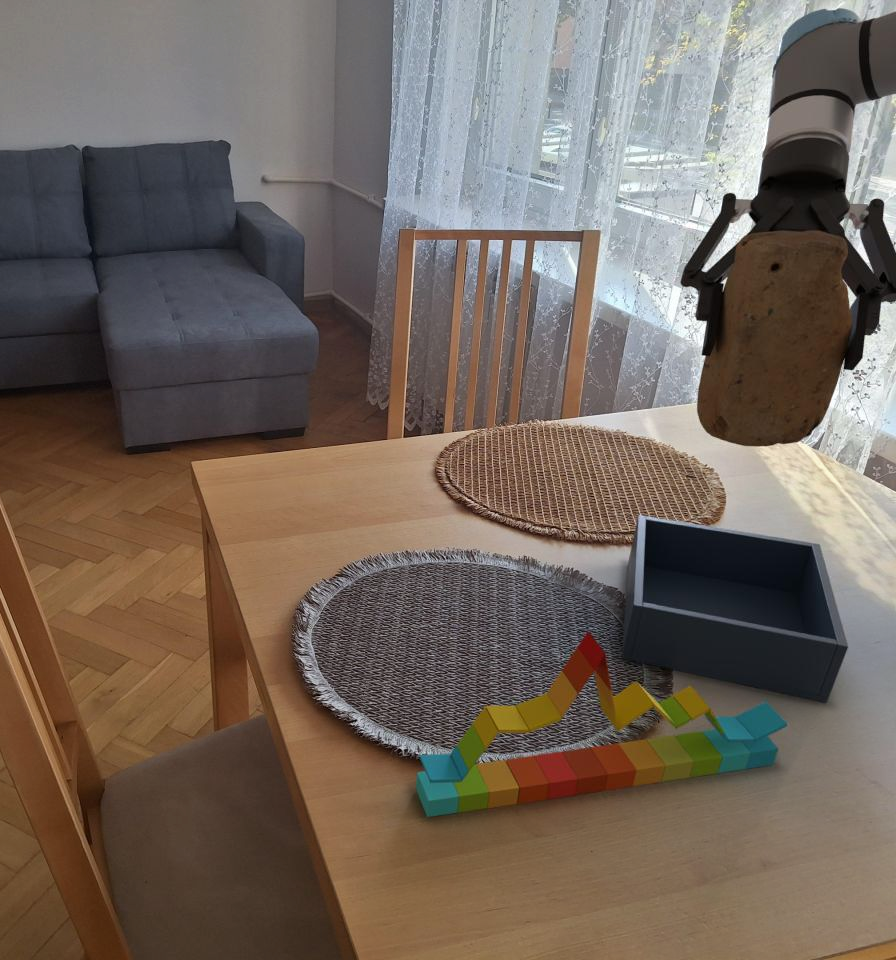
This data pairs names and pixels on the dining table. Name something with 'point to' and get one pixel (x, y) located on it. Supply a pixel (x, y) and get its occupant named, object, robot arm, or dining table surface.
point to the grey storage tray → (732, 608)
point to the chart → (587, 770)
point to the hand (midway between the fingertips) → (778, 356)
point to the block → (777, 339)
